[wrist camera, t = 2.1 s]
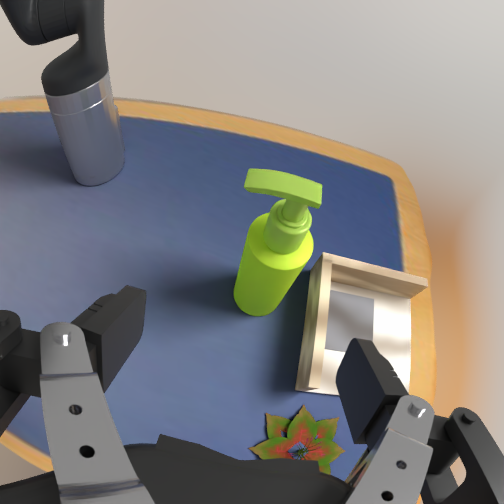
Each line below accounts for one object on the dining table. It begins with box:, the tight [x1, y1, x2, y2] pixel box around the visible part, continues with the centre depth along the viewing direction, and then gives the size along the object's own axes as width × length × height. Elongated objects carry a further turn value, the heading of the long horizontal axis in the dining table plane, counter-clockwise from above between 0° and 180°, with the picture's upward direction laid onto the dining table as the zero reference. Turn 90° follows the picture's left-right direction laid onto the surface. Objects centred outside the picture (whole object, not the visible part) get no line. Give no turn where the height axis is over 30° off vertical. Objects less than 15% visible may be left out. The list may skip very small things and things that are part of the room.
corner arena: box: [295, 252, 428, 395], centre depth 34 cm, size 16×16×5 cm
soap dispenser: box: [234, 169, 322, 316], centre depth 29 cm, size 6×7×20 cm
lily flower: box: [249, 405, 345, 475], centre depth 27 cm, size 12×12×5 cm
